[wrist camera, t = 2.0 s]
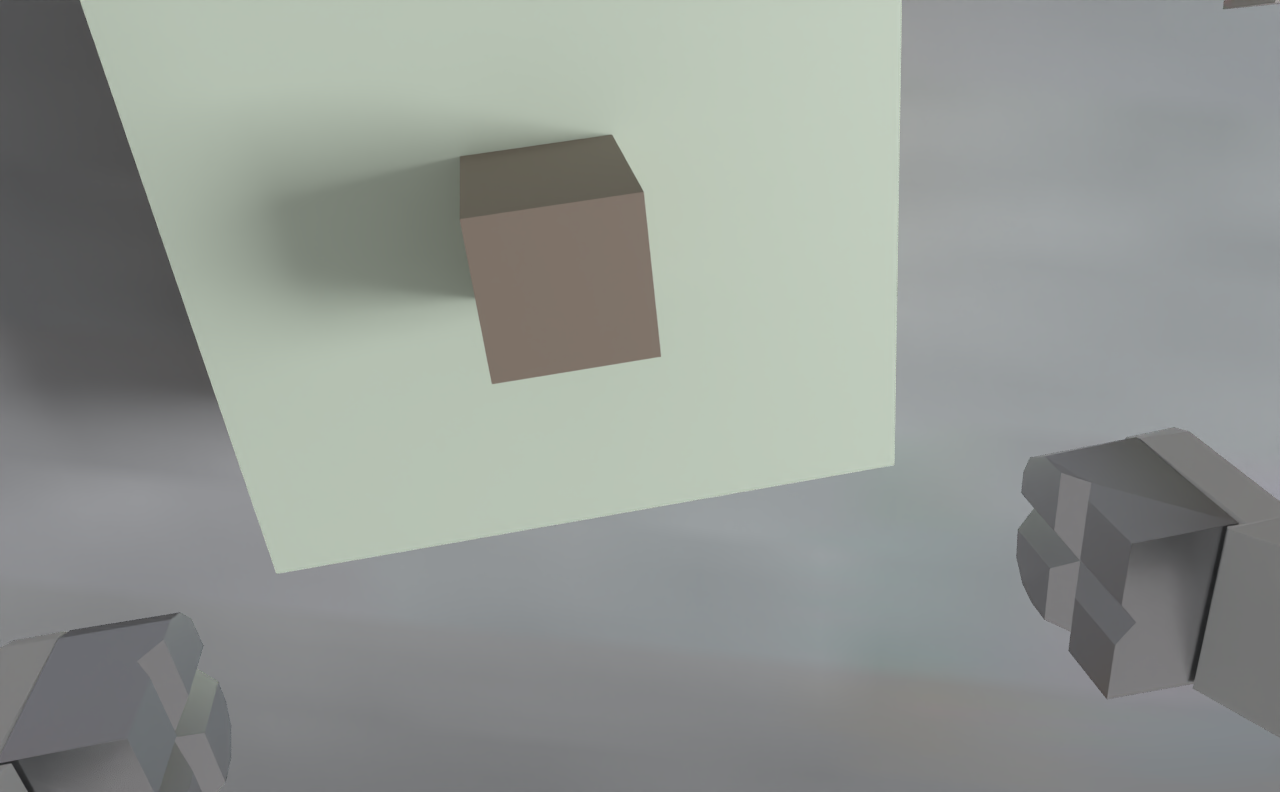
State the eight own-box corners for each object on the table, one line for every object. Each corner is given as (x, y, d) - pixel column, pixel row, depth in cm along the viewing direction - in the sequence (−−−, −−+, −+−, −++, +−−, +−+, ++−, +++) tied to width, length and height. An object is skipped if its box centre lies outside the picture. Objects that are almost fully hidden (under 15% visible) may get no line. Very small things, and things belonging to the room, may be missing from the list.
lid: (882, 448, 26) (965, 564, 21) (281, 553, 24) (244, 697, 20) (888, -246, 19) (1014, -278, 14) (45, -151, 17) (-89, -154, 13)
